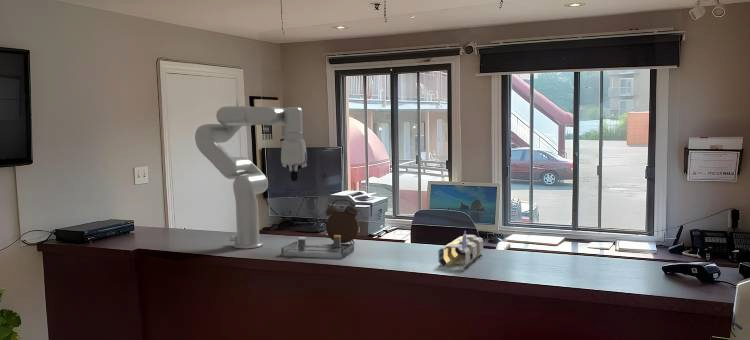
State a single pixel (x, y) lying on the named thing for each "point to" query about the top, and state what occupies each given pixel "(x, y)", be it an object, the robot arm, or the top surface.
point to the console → (317, 251)
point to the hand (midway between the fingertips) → (294, 180)
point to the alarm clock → (342, 222)
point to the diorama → (461, 249)
